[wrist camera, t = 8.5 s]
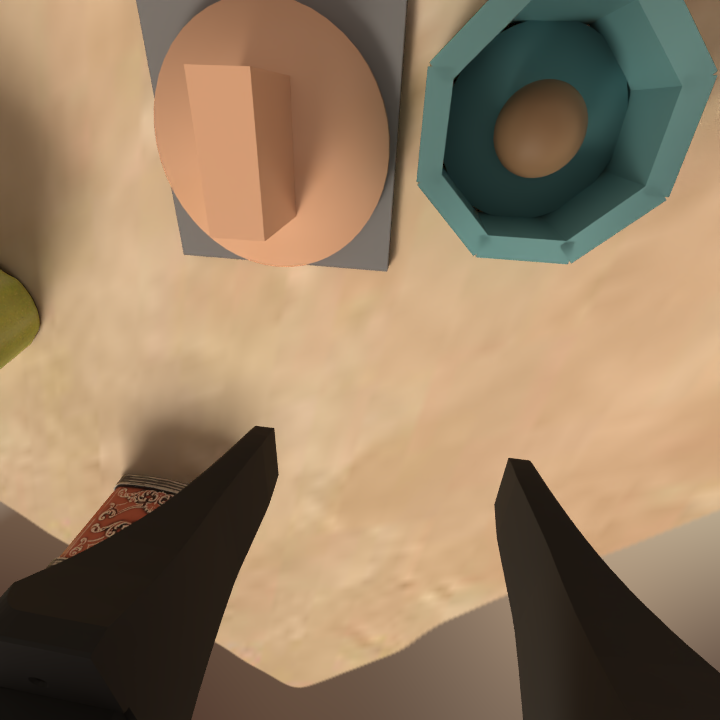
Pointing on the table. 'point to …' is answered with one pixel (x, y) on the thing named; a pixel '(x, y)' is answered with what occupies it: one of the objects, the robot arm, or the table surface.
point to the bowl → (604, 132)
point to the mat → (385, 58)
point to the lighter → (122, 510)
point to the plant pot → (15, 318)
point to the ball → (540, 128)
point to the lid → (271, 130)
